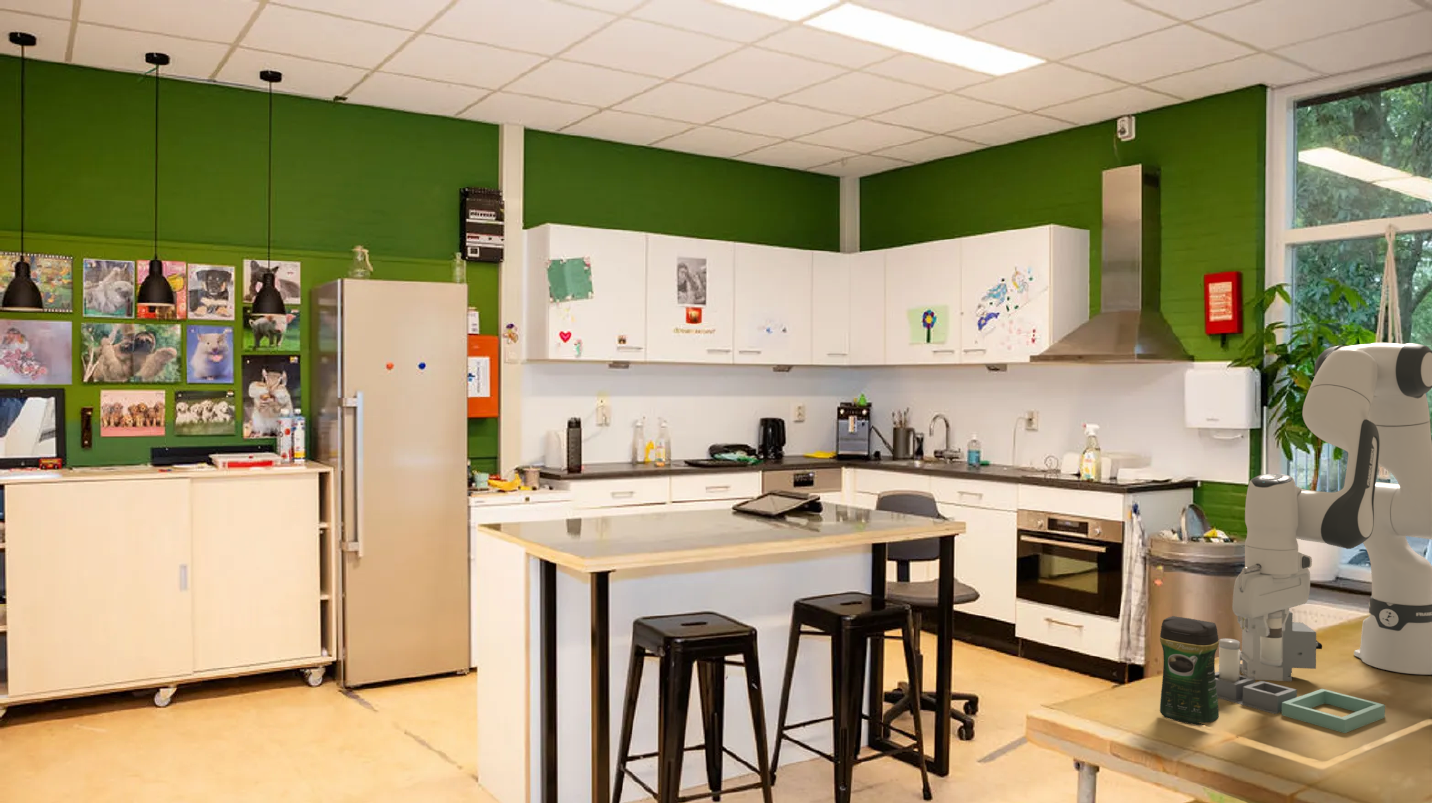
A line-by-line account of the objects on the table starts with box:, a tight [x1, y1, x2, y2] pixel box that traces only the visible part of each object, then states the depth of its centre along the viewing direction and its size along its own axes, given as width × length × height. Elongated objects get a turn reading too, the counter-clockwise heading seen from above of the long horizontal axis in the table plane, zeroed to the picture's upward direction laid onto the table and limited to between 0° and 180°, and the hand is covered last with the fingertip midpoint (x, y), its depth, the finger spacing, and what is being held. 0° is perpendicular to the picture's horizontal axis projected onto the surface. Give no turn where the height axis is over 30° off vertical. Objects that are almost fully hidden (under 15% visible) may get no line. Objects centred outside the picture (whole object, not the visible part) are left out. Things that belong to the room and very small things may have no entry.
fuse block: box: [1215, 671, 1298, 715], centre depth 197 cm, size 9×15×4 cm, turn 32°
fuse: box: [1218, 638, 1241, 683], centre depth 200 cm, size 4×4×10 cm
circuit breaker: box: [1237, 610, 1323, 682], centre depth 211 cm, size 8×14×15 cm, turn 78°
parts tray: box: [1281, 688, 1386, 734], centre depth 187 cm, size 14×11×3 cm
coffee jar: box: [1159, 615, 1220, 726], centre depth 189 cm, size 10×8×19 cm
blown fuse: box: [1260, 610, 1282, 666], centre depth 193 cm, size 4×4×10 cm
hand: (1271, 633), depth 193 cm, fingers closed on blown fuse, 4 cm apart
